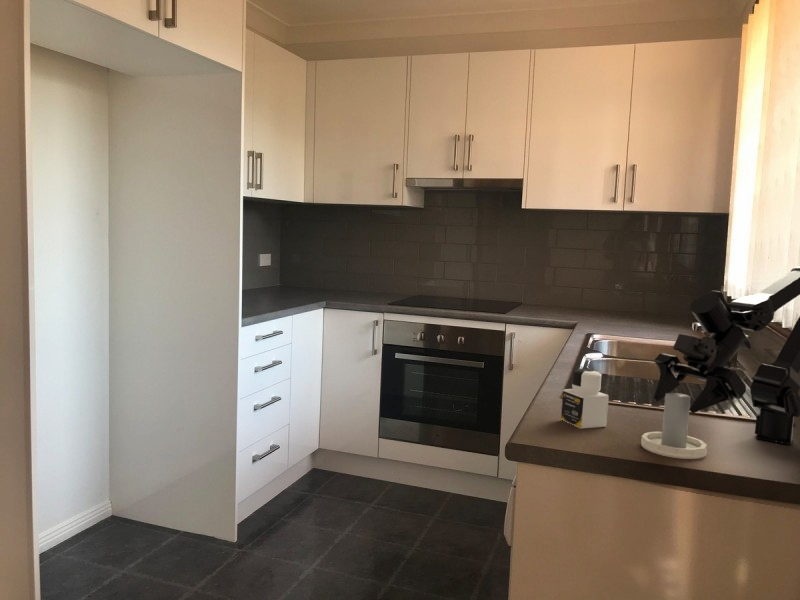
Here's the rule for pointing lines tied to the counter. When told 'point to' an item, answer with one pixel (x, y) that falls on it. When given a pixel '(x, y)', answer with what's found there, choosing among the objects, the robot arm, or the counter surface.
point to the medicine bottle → (585, 401)
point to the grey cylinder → (675, 420)
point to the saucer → (692, 450)
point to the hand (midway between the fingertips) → (672, 405)
